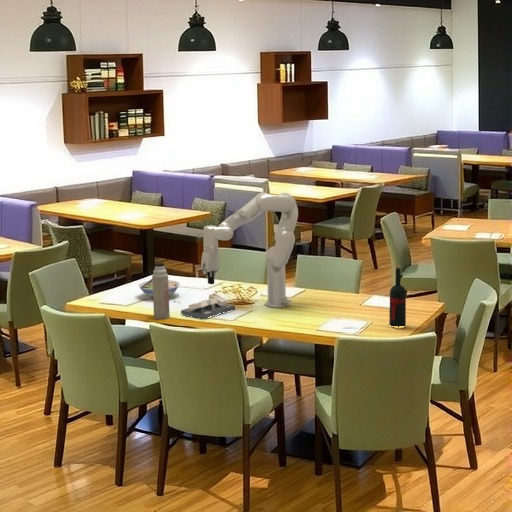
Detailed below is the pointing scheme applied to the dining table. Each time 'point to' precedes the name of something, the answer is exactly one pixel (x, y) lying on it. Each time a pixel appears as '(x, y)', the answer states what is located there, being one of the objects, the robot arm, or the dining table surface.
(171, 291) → the ramen bowl
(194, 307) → the rocker
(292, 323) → the dining table surface
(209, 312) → the console
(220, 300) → the rocker
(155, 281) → the thermos bottle
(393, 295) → the wine bottle
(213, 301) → the rocker
